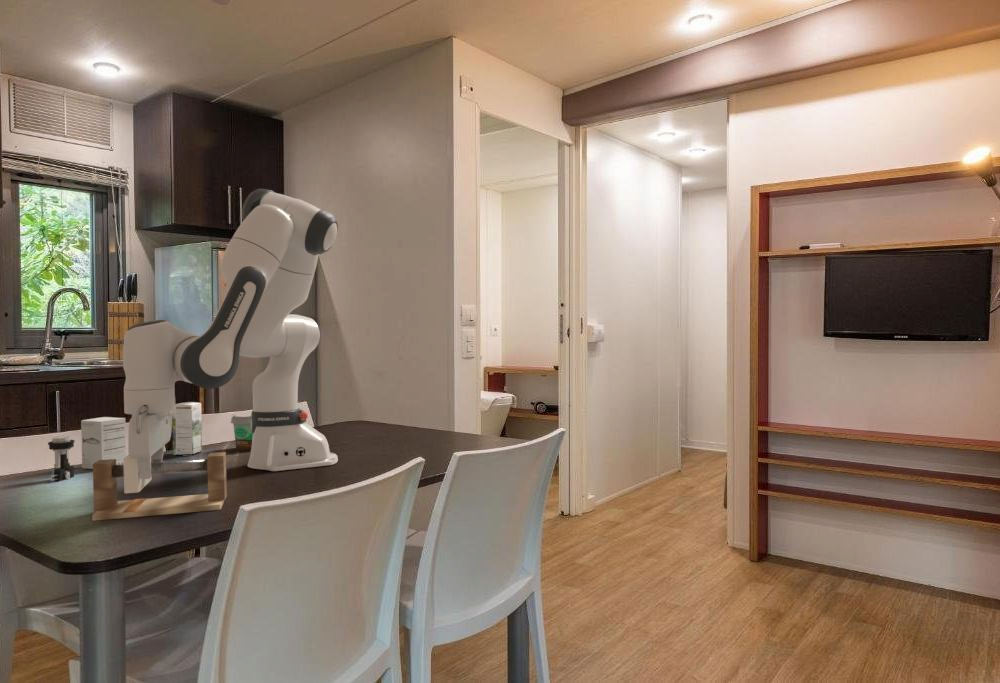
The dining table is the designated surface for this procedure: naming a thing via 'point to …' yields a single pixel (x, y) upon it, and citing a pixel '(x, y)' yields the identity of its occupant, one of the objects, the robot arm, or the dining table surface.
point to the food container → (242, 432)
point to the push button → (61, 458)
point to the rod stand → (113, 509)
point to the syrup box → (187, 428)
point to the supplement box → (103, 440)
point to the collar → (133, 476)
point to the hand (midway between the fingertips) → (151, 473)
